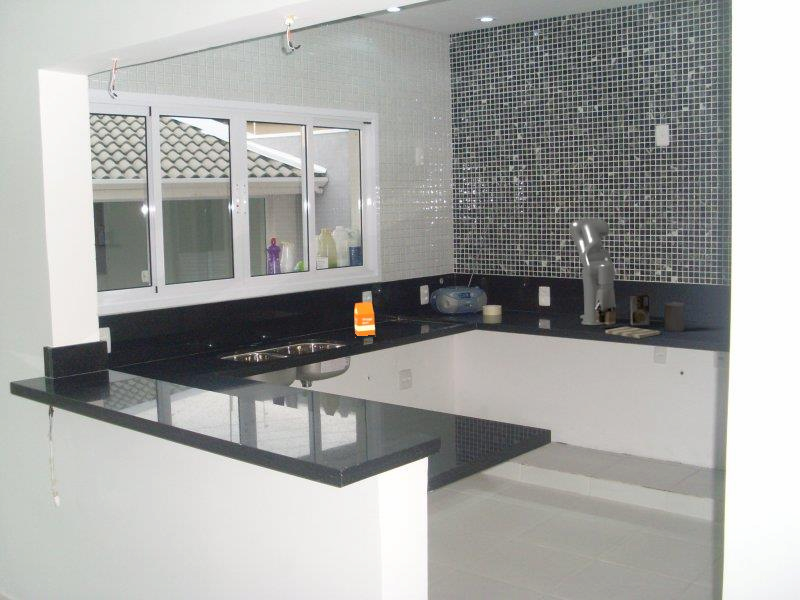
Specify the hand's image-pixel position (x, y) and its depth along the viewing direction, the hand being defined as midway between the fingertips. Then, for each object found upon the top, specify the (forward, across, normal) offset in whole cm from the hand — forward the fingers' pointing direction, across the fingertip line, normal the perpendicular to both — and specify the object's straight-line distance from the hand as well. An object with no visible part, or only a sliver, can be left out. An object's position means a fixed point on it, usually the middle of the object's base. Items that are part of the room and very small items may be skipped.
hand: (605, 320), depth 452 cm
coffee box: (+5, -23, +3) cm, 24 cm away
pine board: (+4, +1, +19) cm, 19 cm away
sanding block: (+1, 0, 0) cm, 1 cm away
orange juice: (+5, +105, -68) cm, 125 cm away
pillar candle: (+4, -20, +28) cm, 34 cm away
